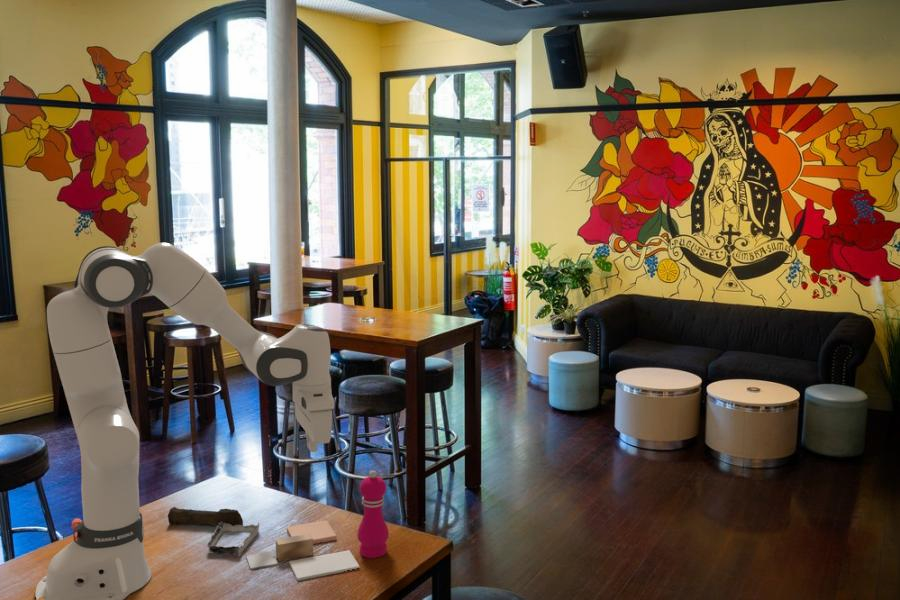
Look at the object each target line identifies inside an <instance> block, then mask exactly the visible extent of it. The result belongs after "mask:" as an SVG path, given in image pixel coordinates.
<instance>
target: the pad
mask: <svg viewBox="0 0 900 600" xmlns="http://www.w3.org/2000/svg"><path fill="white" fill-rule="evenodd" d="M288 561H289V562H288V563H289V567H290V568H291V570H292V572H293V574H294V577H295V579H296V581H297V582H299V581H302V580H303V581H304V580H309V579H314V578H318V577H319V578H320V577H323V576H329V575H333V574H334V575H335V574H339V573H344V571H345V572H348V571H347V570H350V571H353V570H352V569H355V570H357V569H356V568H360V565H359V563H358V562H357V559H356V557H355V556H354V555H353V554H352V552H351V550H349V549H347V550H343V551H338V552H332V553H327V554H326V553H325V554H321V555H317V556H309V557H305V558H299V559H295V560H288Z"/></svg>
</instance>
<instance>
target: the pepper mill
mask: <svg viewBox="0 0 900 600" xmlns="http://www.w3.org/2000/svg"><path fill="white" fill-rule="evenodd" d="M386 491H387V485H386V481H385V480H384V479H383V478H382V477H380V476H378V473H377V471H375V470H370V472H369V473H368V476H366V477H364V478H363V479H362V481H361V482H360V485H359V493H360V494H361V495H362V498H361V502H362V503H361V504H362V505H363V509H364V511H363V517H362V519H361V522H360V524H359V526H358V529H357V539H358V541H359V542H360V544H359V553H360V556H361V557H363V556H364V558H366V557H367V558H366V559H377V558H376V557H379V558H381V557H380V556H382V557H384V556H385V555H386V554H387V543H386V542H387V541H388V540H389V537H390V536H389V534H390V533H389V527H388V525H387V523H386V520H385V518H384V515H383V505H384V504H385V501H384V499H385V497H384V495H385V493H386ZM385 553H386V554H385ZM384 554H385V555H384ZM383 555H384V556H383Z"/></svg>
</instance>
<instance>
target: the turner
mask: <svg viewBox="0 0 900 600" xmlns="http://www.w3.org/2000/svg"><path fill="white" fill-rule="evenodd" d="M311 556H314V544H313V538H312V536H311V534H304V535H299V536H293V537H290V536H288V537H282V538H278V539H277V538H276V539H275V553H274V551H267V552H262V553H256V554H251V555H246V560H247V563H248V566H249V569H250V571H252V570H257V569H265V568H268V567H274V566H278V565H279V563H278V562H281V561H286V560H287V561H289V560H291V559H297V558H299V559H300V558H303V557H311Z"/></svg>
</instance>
